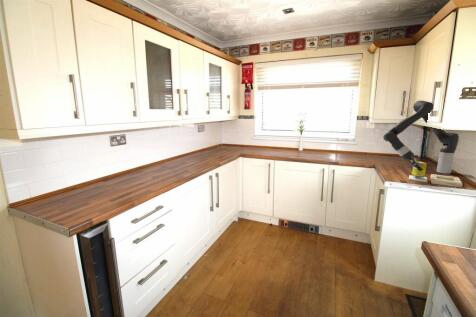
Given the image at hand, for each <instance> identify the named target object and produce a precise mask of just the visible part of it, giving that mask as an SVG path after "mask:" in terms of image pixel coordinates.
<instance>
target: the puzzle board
mask: <svg viewBox="0 0 476 317" xmlns="http://www.w3.org/2000/svg"><path fill="white" fill-rule="evenodd" d="M429 177H430V181H431V184H433V185H443V186H449V187H457V188H462V187H463V182H462V181H461V179H460V178H459V177H458V176H450V175H441V174H440V175H439V174H434V173H433V174H432V173H431V174H430V176H429Z"/></svg>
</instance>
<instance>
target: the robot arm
mask: <svg viewBox="0 0 476 317" xmlns="http://www.w3.org/2000/svg"><path fill="white" fill-rule="evenodd" d="M433 106H434V103H433V102H431V101H428V100H427V101H426V100H416V101H415V102H414V104H413V106H412V107H413V110H414V112H415V113H413V114H412V115H410V116H408V117H405V118H403V119H402V120H399V122H397V123H396V124H395V125H394V126H393V127H392V128H391V129H390V130H388V131H387V132H386V133H385V134H384V135H383V141H385V142H388V143H390V145H391V147H392V148H393V149H394V151H396V153H398V155H399V156H400V157H401V158H402V159H403V160H404V161H407V160H408V162H409V163H410V164H411V165H412V167H413V166H414V167H416V168H417V169H418V170H419V171H422V170H423V169H422V168H421V167H420V166H419V165H418V164H417V163H418V162H419V161H418V159H416V157H414V155H415V153H414V152H412V150H411V149H410V148H409V147H408V146H406V145H405V144H404V143H403V142H402V141H401V140H400V138H399V137H398V135H400V134H401V133H403V132H404V131H405V130H406V129H408V128H409V127H410V126H412V125H413V124H414V123H416V122H418V121H419V120H420V119H422V121H424V122H425V123H426V124H427V120H428V113H430V112H433V110H434V107H433ZM429 129H430V130H432V132H433V133H434V135H435V136H436V138H437V140H438V141H439V142H440V143H441V144H444V145H447V146H445V147H441V148H440V149H439V155H438V161H437V166H436V173H440V174H448V175H449V174H451V173H452V169H453V163H454V158H455V153H456V150H457V146H458V143H459V139H460V138H459V134H458V133H454V132H446V131H445V130H444V129H443V130H441V129H436V128H432V127H429Z"/></svg>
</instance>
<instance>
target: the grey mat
mask: <svg viewBox="0 0 476 317" xmlns="http://www.w3.org/2000/svg"><path fill="white" fill-rule="evenodd" d="M408 181H414V182H421V183H422V182H423V183H428V177H426V176H425V177H415V176H413V175H412V174H411V175H410V174H409V175H408Z"/></svg>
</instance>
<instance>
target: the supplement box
mask: <svg viewBox="0 0 476 317" xmlns="http://www.w3.org/2000/svg"><path fill="white" fill-rule="evenodd" d="M417 164H418V165H419V166H420V167H421V168H422V169H423V170H422V171H419V170H418V169H417V168H416V167H414V166H413V165H412V172H411V175H412V176H415V177H426V171H427V170H426V169H427V165H428V163H426V162H424V161H418V163H417Z"/></svg>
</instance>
